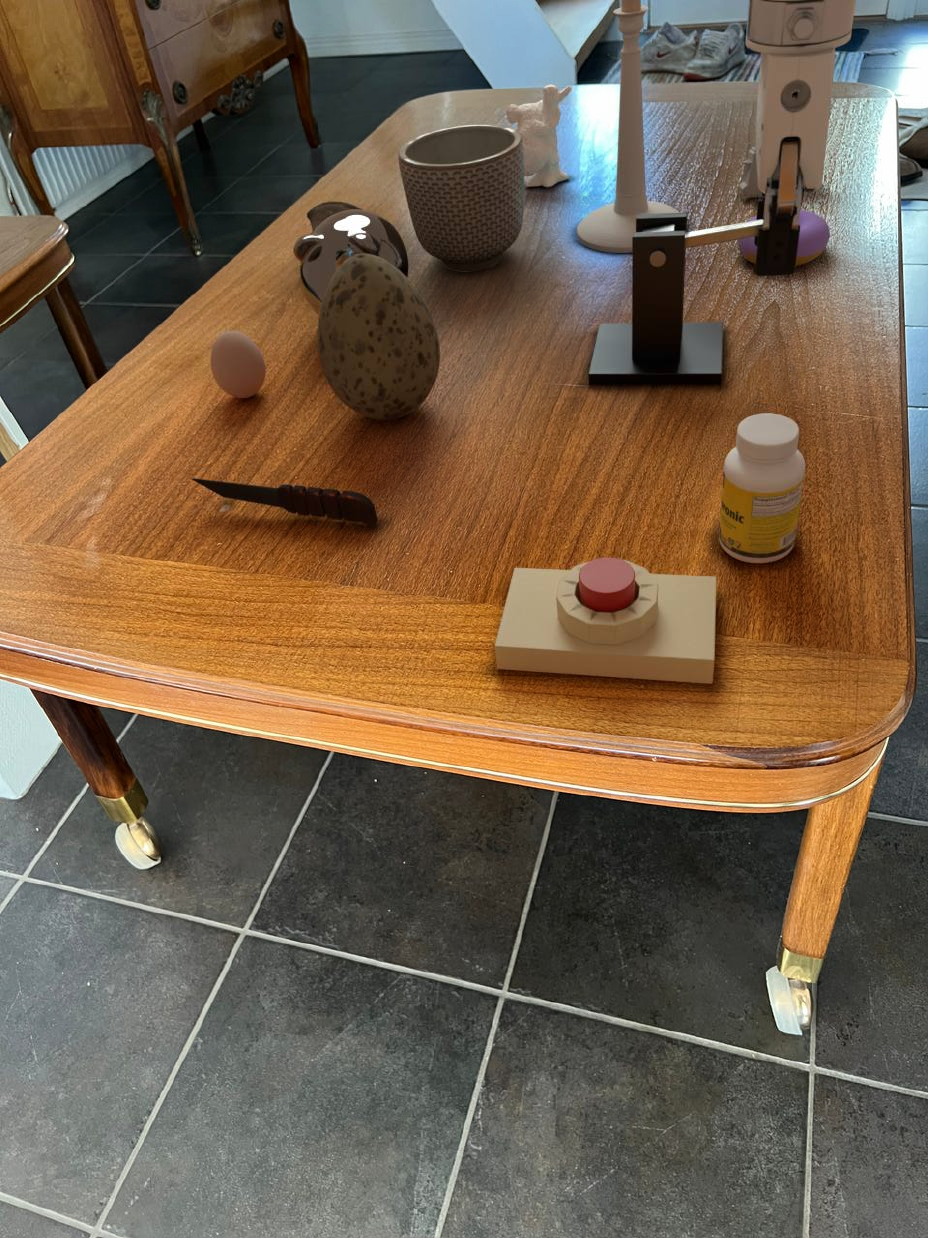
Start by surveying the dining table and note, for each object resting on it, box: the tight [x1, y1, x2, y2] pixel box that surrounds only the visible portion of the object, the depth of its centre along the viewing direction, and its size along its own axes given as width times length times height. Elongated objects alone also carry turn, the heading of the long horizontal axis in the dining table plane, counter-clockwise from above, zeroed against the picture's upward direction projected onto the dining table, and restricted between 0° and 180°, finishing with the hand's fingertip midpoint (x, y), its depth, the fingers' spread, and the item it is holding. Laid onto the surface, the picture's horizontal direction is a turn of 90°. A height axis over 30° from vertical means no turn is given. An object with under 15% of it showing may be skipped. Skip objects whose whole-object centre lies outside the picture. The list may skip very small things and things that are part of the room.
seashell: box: [306, 201, 363, 231], centre depth 116 cm, size 16×9×7 cm, turn 176°
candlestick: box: [576, 0, 680, 254], centre depth 104 cm, size 13×13×30 cm
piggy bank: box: [292, 208, 409, 316], centre depth 100 cm, size 11×15×12 cm
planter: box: [398, 123, 525, 273], centre depth 109 cm, size 14×14×13 cm
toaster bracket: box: [588, 212, 724, 386], centre depth 87 cm, size 12×10×13 cm
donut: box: [737, 209, 831, 267], centre depth 104 cm, size 10×9×5 cm
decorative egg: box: [317, 254, 441, 421], centre depth 85 cm, size 11×11×15 cm
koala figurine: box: [506, 83, 573, 188], centre depth 125 cm, size 8×7×12 cm
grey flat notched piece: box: [738, 146, 812, 199], centre depth 115 cm, size 6×1×10 cm
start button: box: [579, 556, 635, 613], centre depth 62 cm, size 4×4×2 cm
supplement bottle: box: [718, 412, 806, 564], centre depth 67 cm, size 5×5×10 cm
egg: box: [210, 330, 267, 399], centre depth 93 cm, size 5×5×7 cm
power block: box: [494, 559, 718, 685], centre depth 64 cm, size 14×8×4 cm, turn 78°
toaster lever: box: [643, 219, 763, 249], centre depth 83 cm, size 12×5×2 cm, turn 78°
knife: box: [191, 478, 379, 529], centre depth 79 cm, size 17×1×3 cm, turn 71°
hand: (773, 256), depth 83 cm, fingers closed on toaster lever, 5 cm apart
